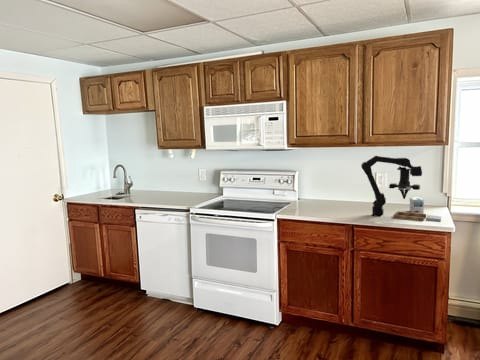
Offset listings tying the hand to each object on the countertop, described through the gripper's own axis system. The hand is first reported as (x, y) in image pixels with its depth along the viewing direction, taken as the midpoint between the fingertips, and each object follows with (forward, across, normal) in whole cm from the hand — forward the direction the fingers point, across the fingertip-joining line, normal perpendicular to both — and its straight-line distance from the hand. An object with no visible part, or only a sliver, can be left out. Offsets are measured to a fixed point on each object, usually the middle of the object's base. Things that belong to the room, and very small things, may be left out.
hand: (404, 198), depth 248 cm
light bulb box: (+12, +6, +12) cm, 18 cm away
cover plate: (+12, +19, -6) cm, 24 cm away
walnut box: (+12, +5, -7) cm, 15 cm away
